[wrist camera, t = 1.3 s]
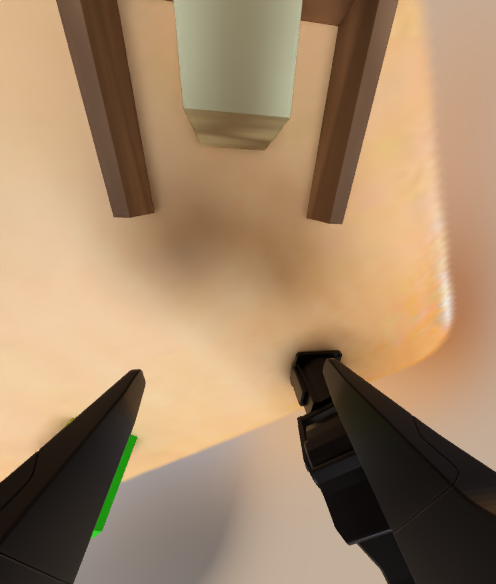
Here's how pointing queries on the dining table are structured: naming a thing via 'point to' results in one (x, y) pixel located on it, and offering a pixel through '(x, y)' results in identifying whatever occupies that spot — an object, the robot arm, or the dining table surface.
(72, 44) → the open wooden frame
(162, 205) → the dining table surface
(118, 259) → the dining table surface
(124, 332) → the dining table surface
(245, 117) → the block
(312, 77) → the dining table surface
